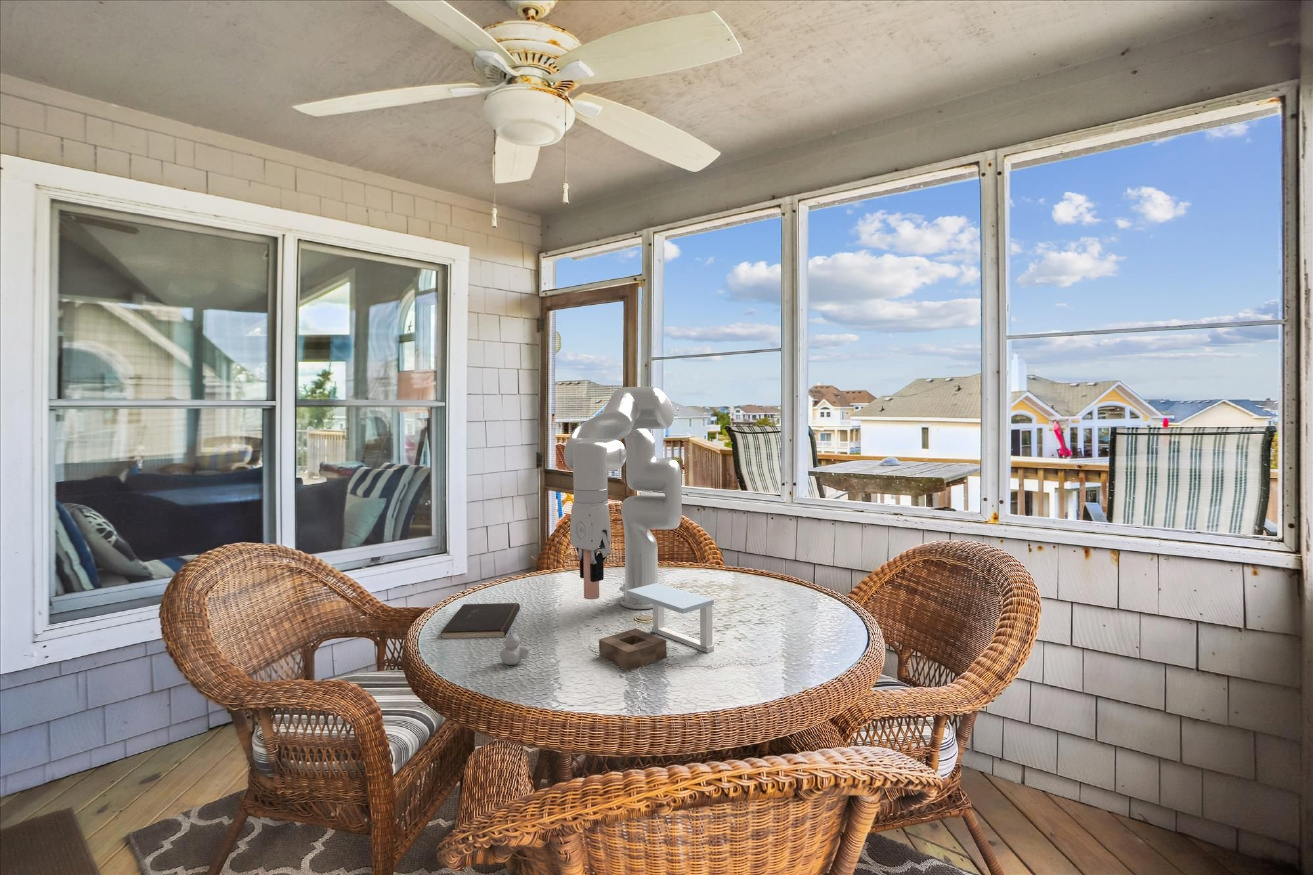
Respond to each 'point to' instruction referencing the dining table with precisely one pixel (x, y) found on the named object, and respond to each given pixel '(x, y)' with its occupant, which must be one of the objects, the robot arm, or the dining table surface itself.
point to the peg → (589, 587)
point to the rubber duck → (513, 650)
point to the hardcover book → (481, 620)
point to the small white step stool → (680, 603)
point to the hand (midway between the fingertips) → (591, 578)
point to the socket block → (632, 649)
